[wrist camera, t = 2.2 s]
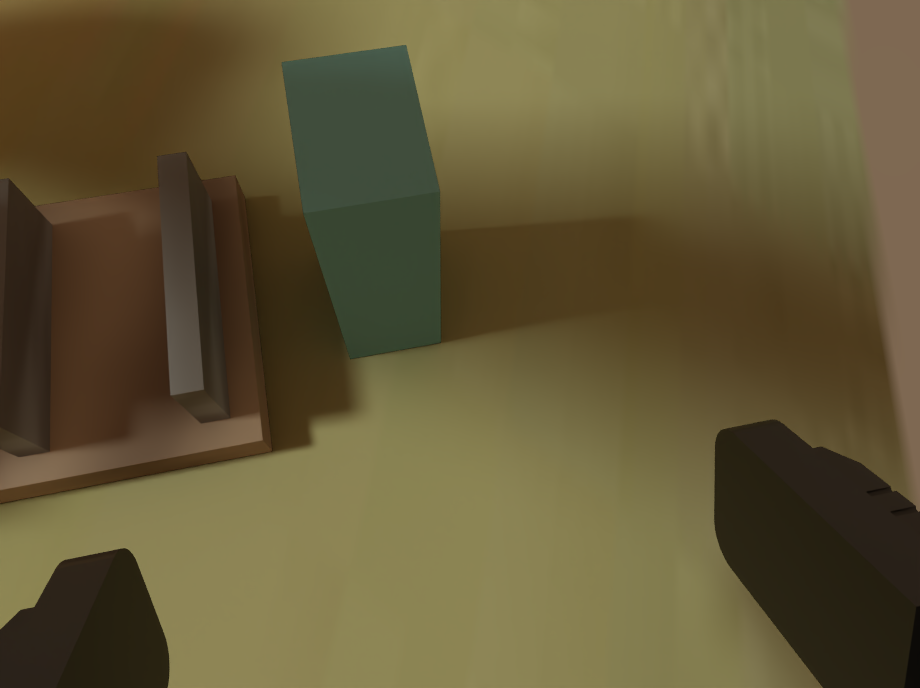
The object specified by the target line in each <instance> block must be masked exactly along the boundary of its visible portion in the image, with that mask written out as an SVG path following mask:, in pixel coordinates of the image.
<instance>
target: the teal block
mask: <svg viewBox="0 0 920 688" xmlns="http://www.w3.org/2000/svg"><path fill="white" fill-rule="evenodd" d="M282 69H283V76H284V83H285V90H286V97H287V104H288V111H289V118H290V125H291V132H292V139H293V146H294V153H295V160H296V167H297V174H298V181H299V188H300V194H301V201H302V208H303V214H304V217H305V220H306V224H307V227H308V230H309V233H310V236H311V239H312V242H313V245H314V248H315V251H316V254H317V258H318V261H319V264H320V267H321V270H322V273H323V276H324V279H325V282H326V285H327V288H328V292H329V295H330V298H331V301H332V304H333V307H334V310H335V313H336V316H337V319H338V323H339V326H340V329H341V332H342V335H343V338H344V341H345V344H346V347H347V350H348V353H349V357H350V359H353V358H359V357H364V356H370V355H375V354H381V353H386V352H392V351H397V350H403V349H409V348H414V347H420V346H425V345H431V344H436V343H441V280H440V189H439V185H438V181H437V176H436V172H435V168H434V163H433V159H432V155H431V150H430V146H429V142H428V137H427V133H426V129H425V125H424V120H423V116H422V112H421V107H420V103H419V99H418V94H417V90H416V86H415V81H414V77H413V73H412V68H411V64H410V60H409V55H408V51H407V47H406V45H402V46H395V47H388V48H381V49H374V50H366V51H359V52H352V53H345V54H338V55H330V56H323V57H316V58H309V59H301V60H294V61H287V62H282Z"/></svg>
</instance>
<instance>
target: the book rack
mask: <svg viewBox="0 0 920 688" xmlns="http://www.w3.org/2000/svg"><path fill="white" fill-rule="evenodd" d="M157 162H158V180H159V187H156V188H150V189H143V190H137V191H130V192H124V193H117V194H111V195H104V196H98V197H91V198H85V199H78V200H72V201H65V202H59V203H52V204H45V205H39V206H34V205H33V204H32V203H31V202H30V201H29V200H28V198H27V197H26V196H25V195H24V194H23V193H22V192H21V191H20V190H19V189H18V188H17V187H16V186H15V184H14V183H13V182H12V181H11V180H10V179H9V178H7V179H1V180H0V503H4V502H10V501H15V500H20V499H25V498H30V497H36V496H41V495H46V494H51V493H57V492H62V491H67V490H72V489H77V488H83V487H88V486H93V485H98V484H104V483H109V482H114V481H119V480H124V479H130V478H135V477H140V476H145V475H151V474H156V473H161V472H166V471H172V470H177V469H182V468H187V467H192V466H198V465H203V464H208V463H213V462H219V461H224V460H229V459H234V458H239V457H245V456H250V455H255V454H260V453H266V452H271V451H272V443H271V434H270V425H269V416H268V407H267V397H266V388H265V379H264V370H263V361H262V351H261V342H260V333H259V324H258V315H257V305H256V296H255V287H254V278H253V268H252V259H251V250H250V241H249V232H248V222H247V213H246V204H245V197H244V194H243V192H242V190H241V188H240V185H239V183H238V181H237V178H236V176H228V177H222V178H215V179H209V180H202V181H201V179H200V177H199V175H198V174H197V172H196V170H195V168H194V166H193V164H192V162H191V160H190V158H189V156H188V154H187V152H182V153H175V154H168V155H162V156H157Z"/></svg>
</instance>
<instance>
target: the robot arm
mask: <svg viewBox="0 0 920 688" xmlns="http://www.w3.org/2000/svg"><path fill="white" fill-rule="evenodd" d="M714 523H715V531H716V536H717V539H718V543H719V546H720V549H721V551H722V553H723V556H724V558H725V560H726V561H727V563H728V565H729V566H730V568H731V569H732V570H733V571H734V573H735V574H736V575H737V577H738V578H739V579H740V581H741V582H742V583H743V584H744V586H745V587H746V588H747V590H748V591H749V592H750V594H751V595H752V596H753V597H754V599H755V600H756V601H757V603H758V604H759V605H760V606H761V608H762V609H763V610H764V612H765V613H766V614H767V616H768V617H769V618H770V619H771V621H772V622H773V623H774V625H775V626H776V627H777V629H778V630H779V631H780V632H781V634H782V635H783V636H784V638H785V639H786V640H787V642H788V643H789V644H790V645H791V647H792V648H793V649H794V651H795V652H796V653H797V654H798V656H799V657H800V658H801V660H802V661H803V662H804V664H805V665H806V666H807V667H808V669H809V670H810V671H811V673H812V674H813V675H814V677H815V678H816V679H817V680H818V682H819V683H820V684H821V686H822V687H823V688H920V512H918V511H917V510H916V506H915V505H914V504H913V503H911V502H910V501H909V500H907V499H906V498H905V497H904V496H902V495H901V494H900V493H898V492H897V491H894V492H892V490H891V488H890V486H889V485H888V484H887V483H885V482H884V481H883V480H882V479H880V478H879V477H878V476H876V475H875V474H874V473H873V472H871V471H870V470H869V469H867V468H866V467H865V466H864V465H862V464H861V463H859V462H857V461H854V460H852V459H849V458H847V457H845V456H842V455H840V454H838V453H835V452H833V451H831V450H828V449H826V448H823V447H817V448H812V447H811V446H809V445H808V444H807V443H806V442H804V441H803V440H802V439H801V438H800V437H798V436H797V435H796V434H795V433H794V432H792V431H791V430H790V429H789V428H787V427H786V426H785V425H784V424H782V423H781V422H780V421H777V420H767V421H762V422H757V423H752V424H747V425H742V426H737V427H732V428H727V429H723V430H721V431H720V432H719V433H718V435H717V437H716V442H715V501H714ZM168 682H169V653H168V646H167V642H166V638H165V635H164V632H163V630H162V627H161V624H160V622H159V619H158V617H157V614H156V611H155V609H154V606H153V603H152V601H151V598H150V595H149V593H148V590H147V588H146V585H145V582H144V580H143V577H142V574H141V572H140V569H139V566H138V564H137V562H136V559H135V557H134V556H133V554H132V553H131V552H130V551H129V550H128V549H125V548H123V549H118V550H113V551H108V552H103V553H98V554H93V555H88V556H83V557H78V558H73V559H68V560H64V561H62V562H61V563H60V564H59V565H58V566H57V567H56V569H55V571H54V573H53V574H52V576H51V578H50V580H49V582H48V583H47V585H46V587H45V589H44V591H43V593H42V594H41V596H40V598H39V600H38V602H37V603H36V605H35V607H33V608H28V609H23V610H20V611H19V612H18V613H17V614H16V615H15V616H14V617H13V618H12V619H11V620H10V621H9V622H8V623H7V624H6V625H5V626H4V627H2V628H1V629H0V688H167V687H168Z"/></svg>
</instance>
